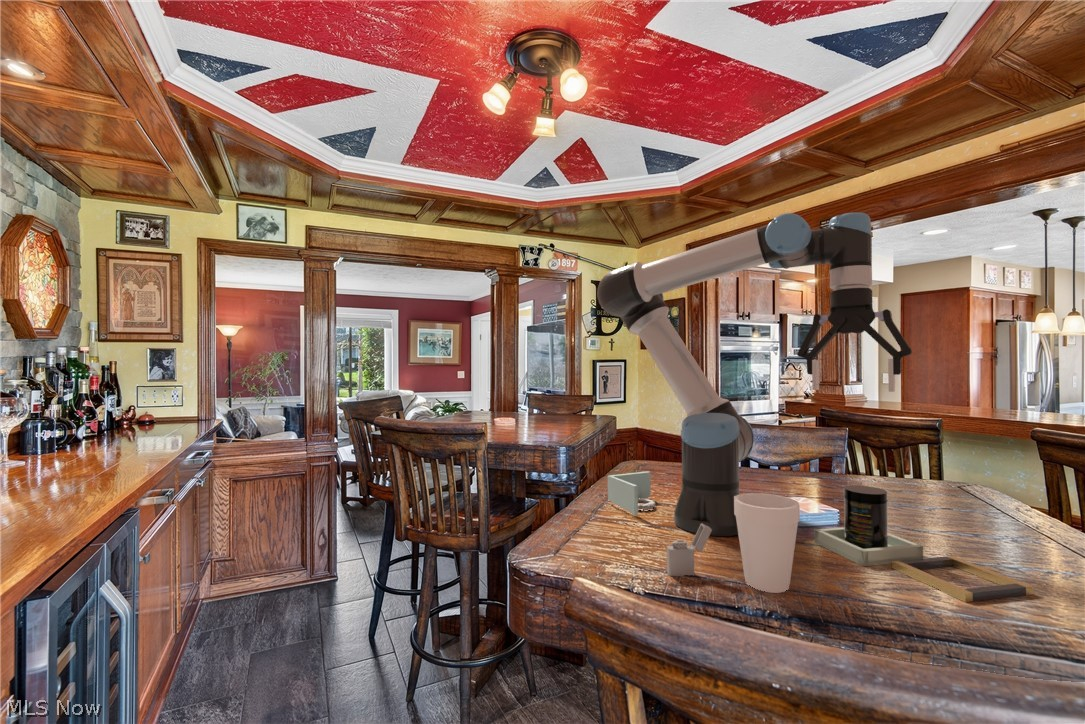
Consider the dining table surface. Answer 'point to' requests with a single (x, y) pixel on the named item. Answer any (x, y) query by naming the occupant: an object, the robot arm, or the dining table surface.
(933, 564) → the frame
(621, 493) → the l-shaped corner panel
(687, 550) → the lighter
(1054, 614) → the dining table surface
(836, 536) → the shallow grey-green tray
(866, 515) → the supplement container
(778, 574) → the foam cup
